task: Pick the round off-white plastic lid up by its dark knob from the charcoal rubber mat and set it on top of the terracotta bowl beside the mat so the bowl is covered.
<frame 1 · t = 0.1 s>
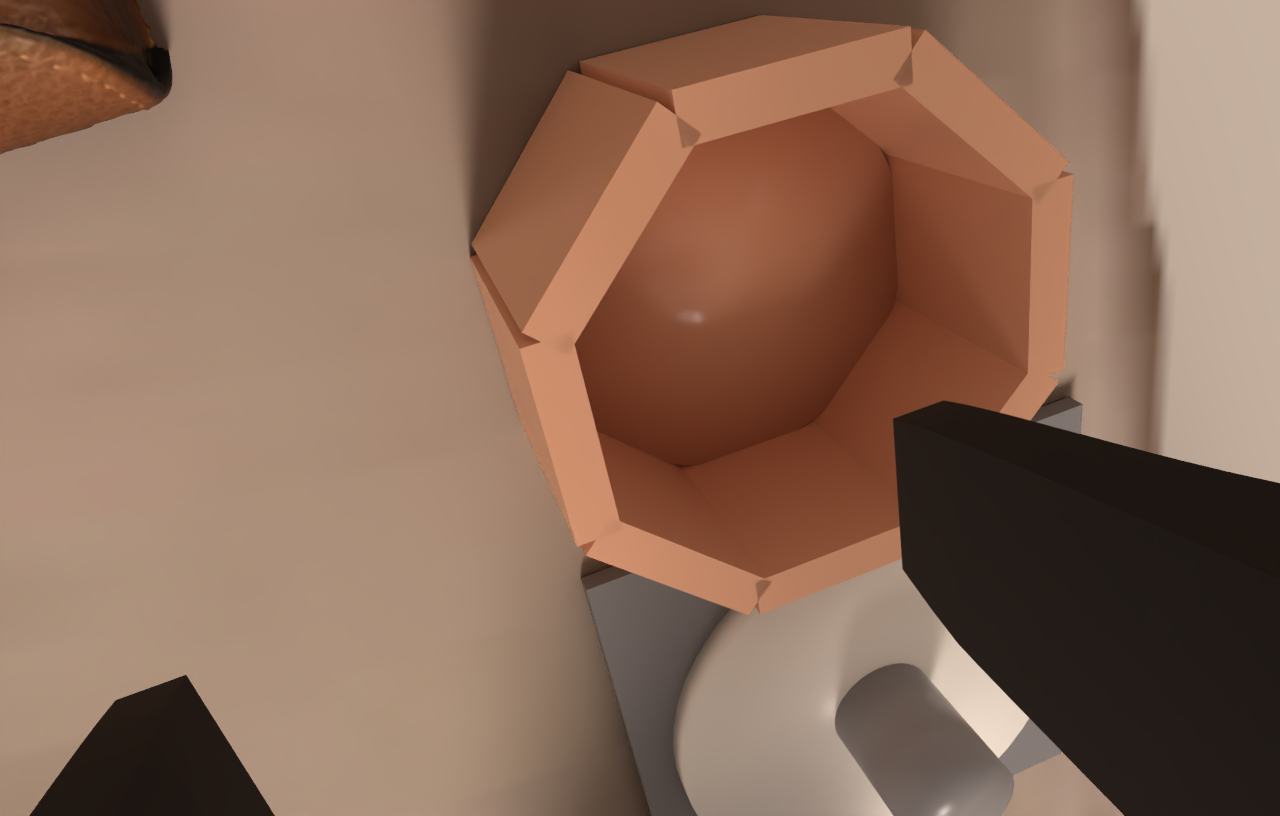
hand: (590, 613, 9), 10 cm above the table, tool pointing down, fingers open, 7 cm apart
bowl: (710, 274, 19), on the table
mat: (858, 675, 26), on the table
lid: (867, 686, 25), resting on mat
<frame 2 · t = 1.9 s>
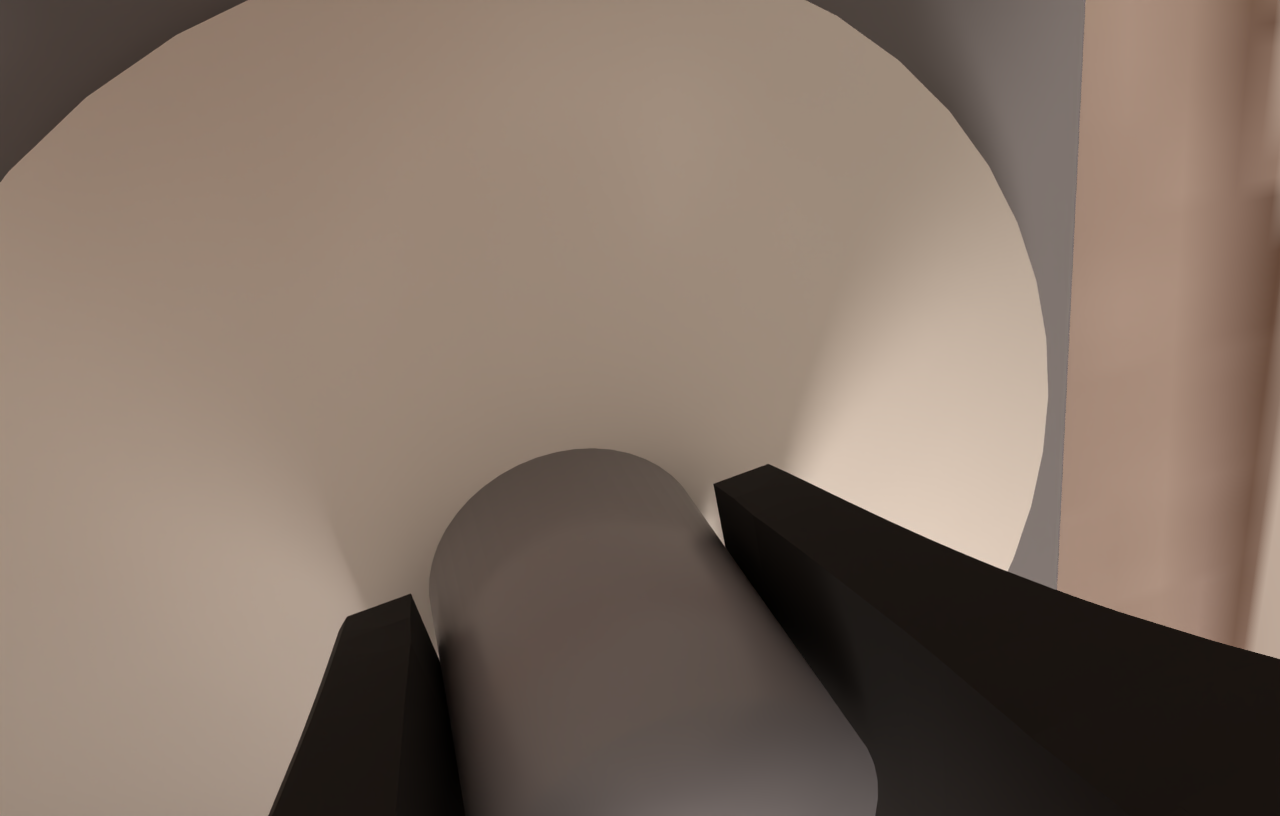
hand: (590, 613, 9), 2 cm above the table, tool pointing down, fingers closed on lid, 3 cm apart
mat: (546, 510, 10), on the table
lid: (555, 533, 10), resting on mat, touching gripper
when the fingers open (8 cm above the table, at t = 4.9 s): lid drops 1 cm, resting on bowl.
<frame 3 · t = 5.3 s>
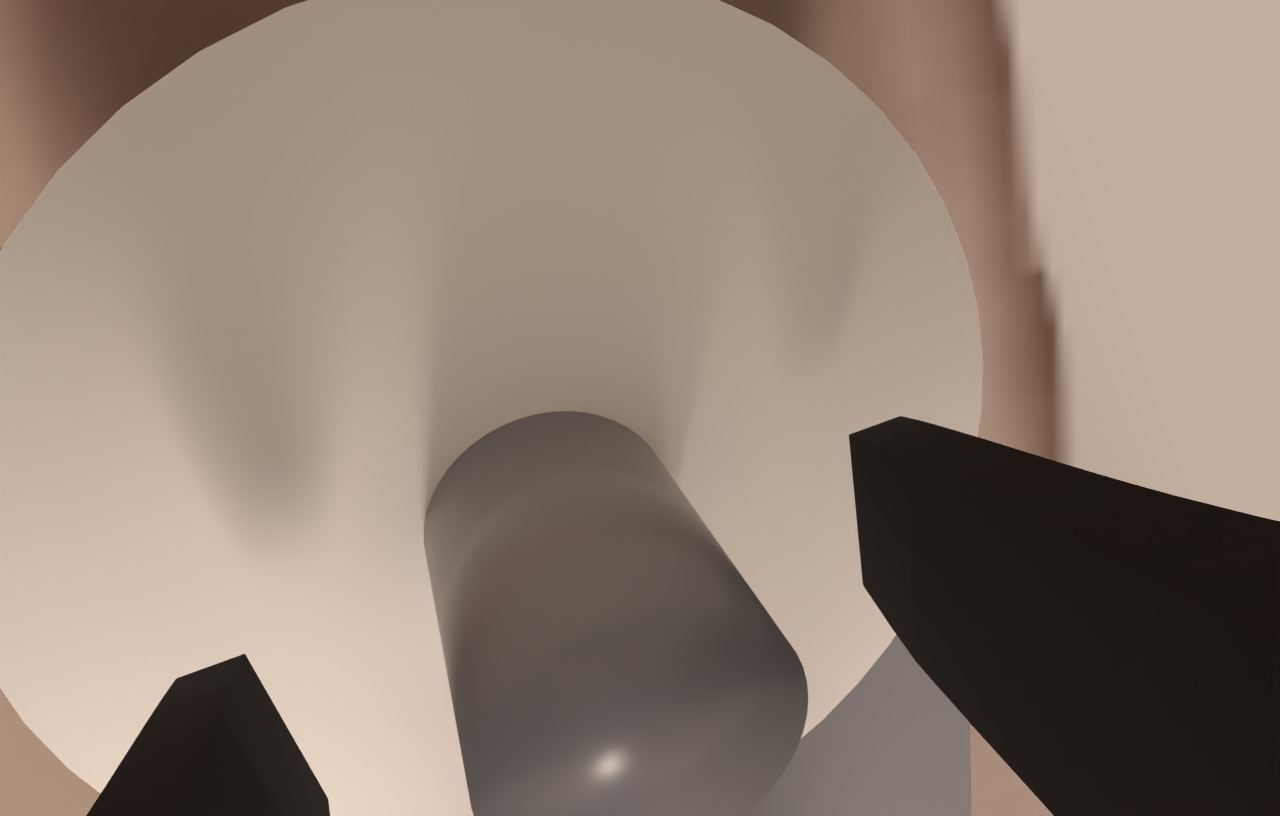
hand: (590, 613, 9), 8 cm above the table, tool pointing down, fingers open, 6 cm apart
mat: (720, 784, 22), on the table
lid: (538, 491, 11), point 5 cm above the table, touching bowl
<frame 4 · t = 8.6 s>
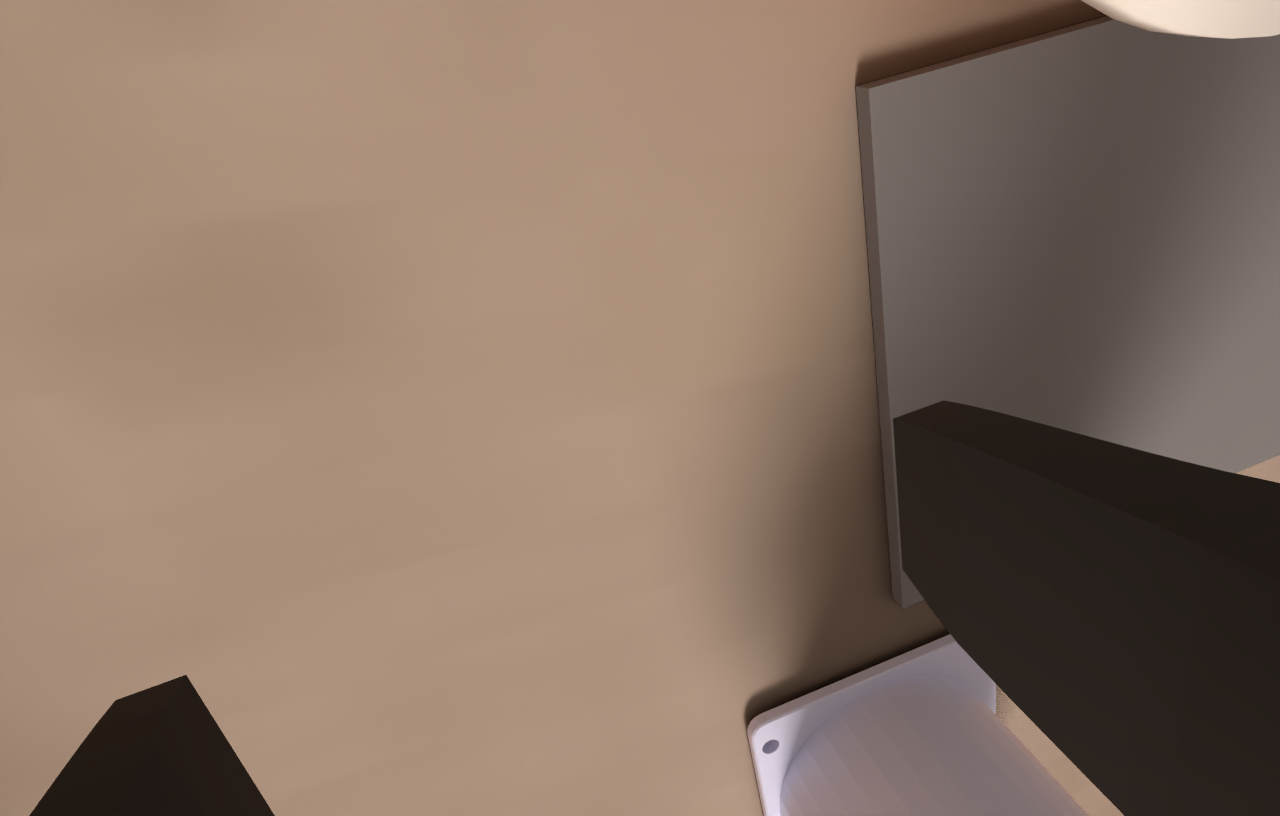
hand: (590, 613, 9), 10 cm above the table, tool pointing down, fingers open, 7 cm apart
mat: (1115, 298, 23), on the table
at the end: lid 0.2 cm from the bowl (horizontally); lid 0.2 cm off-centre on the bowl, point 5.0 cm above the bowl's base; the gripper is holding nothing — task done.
